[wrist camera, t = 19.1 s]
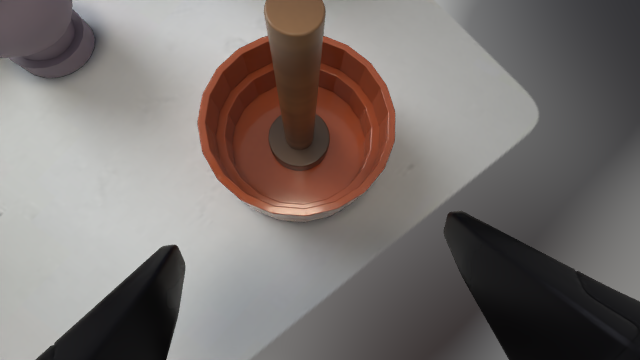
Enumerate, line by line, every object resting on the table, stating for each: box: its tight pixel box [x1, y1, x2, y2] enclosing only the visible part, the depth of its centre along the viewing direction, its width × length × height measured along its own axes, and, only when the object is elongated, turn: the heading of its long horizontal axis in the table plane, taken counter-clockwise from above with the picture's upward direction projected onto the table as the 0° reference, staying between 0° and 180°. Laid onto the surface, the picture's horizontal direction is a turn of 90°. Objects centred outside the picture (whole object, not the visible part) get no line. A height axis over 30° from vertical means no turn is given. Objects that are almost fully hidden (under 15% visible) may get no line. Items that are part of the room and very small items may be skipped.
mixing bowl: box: [198, 36, 395, 222], centre depth 22 cm, size 13×13×6 cm
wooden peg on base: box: [264, 0, 330, 171], centre depth 17 cm, size 5×5×14 cm
